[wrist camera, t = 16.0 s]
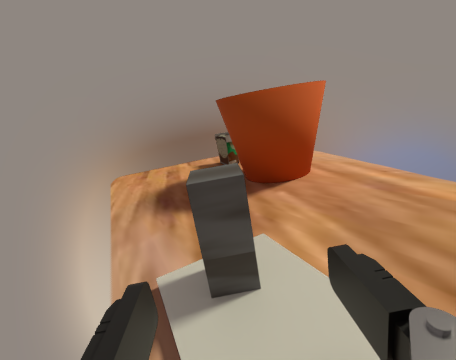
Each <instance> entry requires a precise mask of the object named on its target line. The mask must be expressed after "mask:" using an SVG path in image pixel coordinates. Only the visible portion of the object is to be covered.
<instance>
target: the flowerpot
mask: <svg viewBox="0 0 456 360" xmlns="http://www.w3.org/2000/svg"><path fill="white" fill-rule="evenodd" d="M325 83H326V81H314V82H307V83H299V84H293V85H287V86H281V87H276V88H270V89H264V90H259V91H254V92H249V93H244V94H239V95H235V96H230V97H226V98H222V99H219V100H216V102H217V105H218V107H219V110H220V112H221V115H222V117H223V120H224V123H225V125H226V128H227V130H228V133H229V135H230V138H231V140H232V143H233V145H234V148H235V150H236V153H237V155H238V158H239V160H240V163H241V165H242V168H243V170H244V173H245V175H246V178H247V179H248V180H250V181H253V182H259V183H276V182H284V181H290V180H294V179H298V178H301V177H303V176H305V175H307V174H308V173H309V172H310V168H311V162H312V157H313V151H314V145H315V139H316V134H317V128H318V123H319V116H320V111H321V105H322V100H323V94H324V88H325Z"/></svg>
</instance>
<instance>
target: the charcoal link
mask: <svg viewBox="0 0 456 360" xmlns="http://www.w3.org/2000/svg"><path fill="white" fill-rule="evenodd" d="M186 187H187V191H188V195H189V200H190V204H191V209H192V213H193V218H194V222H195V227H196V231H197V236H198V240H199V245H200V249H201V253H202V258H203V262H204V267H205V271H206V276H207V280H208V285H209V289H210V294H211V298H216V297H221V296H226V295H231V294H236V293H242V292H247V291H252V290H257V289H261V286H260V279H259V272H258V266H257V259H256V252H255V246H254V239H253V233H252V226H251V219H250V213H249V206H248V199H247V193H246V186H245V179H244V174H243V172H242V171H241V169H240V167H239V165H238V164H237V163H233V164H228V165H222V166H217V167H211V168H205V169H200V170H194V171H190V174H189V177H188V180H187V184H186Z"/></svg>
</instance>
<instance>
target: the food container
mask: <svg viewBox="0 0 456 360" xmlns="http://www.w3.org/2000/svg"><path fill="white" fill-rule="evenodd" d="M215 140H216V143H217V148H218V152H219V157H220V162H221V163H223V164H225V165H228V164H233V163H237V164H238V163H239V158H238V155H237V153H236V150H235V148H234V145H233V143H232V140H231V138H230V135H229V133H228V132H227V133H220V134H215Z"/></svg>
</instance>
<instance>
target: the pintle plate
mask: <svg viewBox="0 0 456 360" xmlns="http://www.w3.org/2000/svg"><path fill="white" fill-rule="evenodd" d="M253 239H254V246H255V252H256V259H257V266H258V272H259V279H260V286H261V289H257V290H252V291H247V292H242V293H236V294H231V295H226V296H221V297H216V298H211V294H210V289H209V285H208V280H207V276H206V271H205V267H204V262H203V259H201V260H199V261H197V262H194V263H192V264H189V265H187V266H185V267H182V268H180V269H178V270H175V271H173V272H171V273H168V274H166V275H163V276H161V277H159V278H156V280H157V283H158V287H159V290H160V293H161V296H162V300H163V303H164V306H165V310H166V313H167V316H168V319H169V323H170V326H171V329H172V332H173V336H174V339H175V342H176V345H177V349H178V352H179V355H180V358H181V360H380V358H379V357H378V355H377V354H376V352H375V351H374V349H373V348H372V346H371V345H370V343H369V342H368V341H367V339H366V338H365V336H364V335H363V333H362V332H361V330H360V329H359V327H358V326H357V324H356V323H355V322H354V320H353V319H352V317H351V316H350V314H349V313H348V311H347V310H346V308H345V307H344V305H343V304H342V303H341V301H340V300H339V298H338V297H337V295H336V294H335V292H334V291H333V289H332V286H331V284H330V280H329V277H327V276H326V275H324V274H323V273H321V272H320V271H318V270H317V269H315V268H314V267H312V266H311V265H309V264H308V263H306V262H305V261H303V260H302V259H301V258H299V257H298V256H296V255H295V254H293V253H292V252H290V251H289V250H287V249H286V248H284V247H283V246H281V245H280V244H278V243H277V242H275V241H274V240H272V239H271V238H269V237H268V236H266V235H265V234H261V235H258V236H256V237H253Z"/></svg>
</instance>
